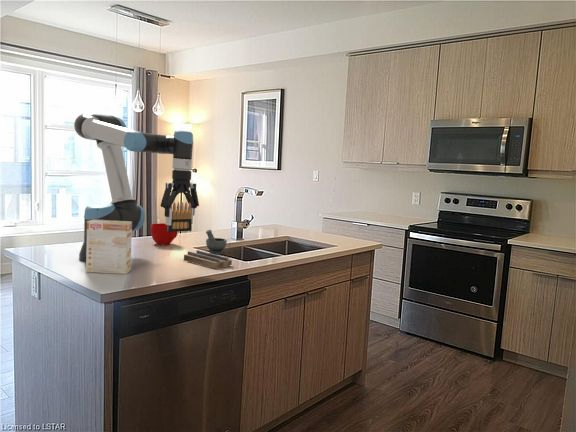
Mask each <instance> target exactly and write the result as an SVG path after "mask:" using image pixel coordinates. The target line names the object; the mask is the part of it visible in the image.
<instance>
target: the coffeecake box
mask: <svg viewBox="0 0 576 432" xmlns="http://www.w3.org/2000/svg"><path fill="white" fill-rule="evenodd" d="M132 236H133V231H132V221H113V220H95V219H93V220H90V221H87V247H86V261H85V262H86V263H85V272H86V273H99V274H101V273H102V274H118V275H127V274H128V273H129V272H130V271H132V246H133V245H132V242H133V240H132V238H133V237H132Z"/></svg>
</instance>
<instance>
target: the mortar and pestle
mask: <svg viewBox="0 0 576 432" xmlns="http://www.w3.org/2000/svg"><path fill="white" fill-rule="evenodd" d="M205 234H206V236H207V237H208V238H206V239H205V243H206V244H205V245H206V248H207V249H208V250H209V252H208V253H211V254H215V255H219V256H221V255H222V254H223V250H224V249H226V246H227V242H228V240H227V239H226V238H221V237H215V236H214V234H213V231H212V229H207V230H206V231H205Z"/></svg>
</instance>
